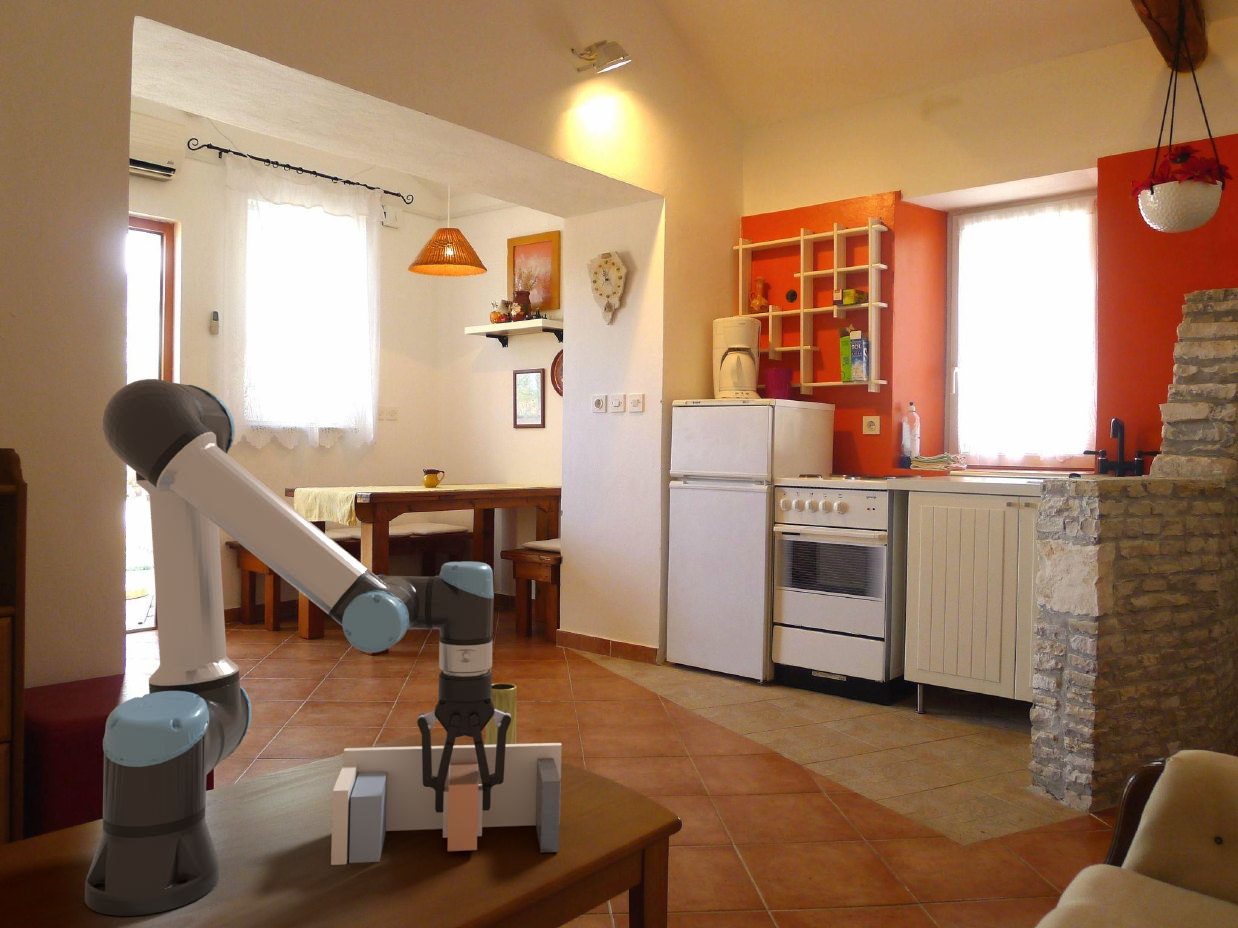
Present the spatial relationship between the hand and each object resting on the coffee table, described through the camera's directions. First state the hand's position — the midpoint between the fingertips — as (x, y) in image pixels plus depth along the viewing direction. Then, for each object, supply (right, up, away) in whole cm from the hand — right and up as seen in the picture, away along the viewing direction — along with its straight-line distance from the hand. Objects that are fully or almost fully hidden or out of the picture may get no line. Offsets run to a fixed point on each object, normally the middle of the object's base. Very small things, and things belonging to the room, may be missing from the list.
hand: (462, 832), depth 133 cm
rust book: (0, 0, 0) cm, 0 cm away
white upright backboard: (-2, -1, 0) cm, 2 cm away
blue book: (-13, -1, -2) cm, 13 cm away
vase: (+1, -2, +34) cm, 34 cm away
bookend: (+12, -2, +2) cm, 12 cm away
